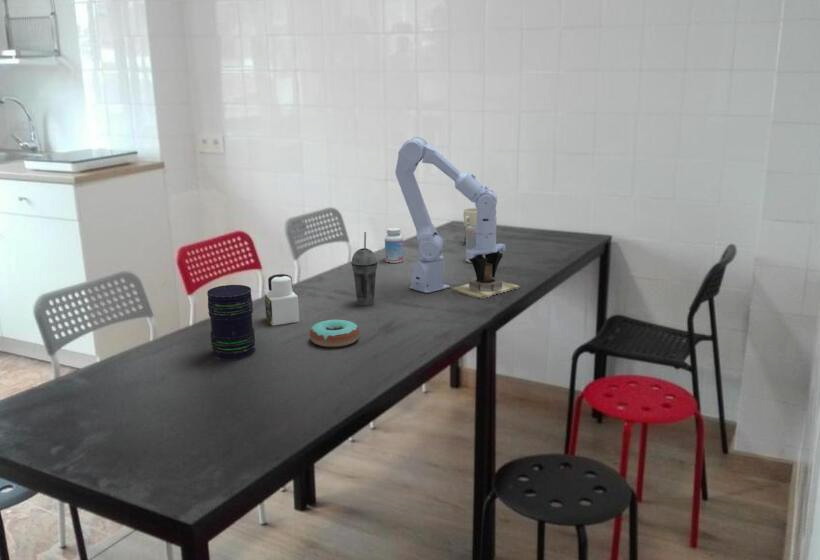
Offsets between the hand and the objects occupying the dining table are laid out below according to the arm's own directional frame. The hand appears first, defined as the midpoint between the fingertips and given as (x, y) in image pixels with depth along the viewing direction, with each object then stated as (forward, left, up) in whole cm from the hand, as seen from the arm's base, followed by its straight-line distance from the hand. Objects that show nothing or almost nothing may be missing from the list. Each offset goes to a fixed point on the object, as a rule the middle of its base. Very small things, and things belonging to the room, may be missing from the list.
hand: (485, 278), depth 222 cm
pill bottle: (+3, +45, -4) cm, 46 cm away
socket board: (0, 0, -3) cm, 3 cm away
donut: (-58, -6, -4) cm, 58 cm away
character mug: (+41, +45, -4) cm, 61 cm away
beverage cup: (-34, +13, -4) cm, 37 cm away
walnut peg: (0, 0, -2) cm, 2 cm away
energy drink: (+22, +26, -4) cm, 35 cm away
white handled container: (-59, +16, -4) cm, 61 cm away
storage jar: (-80, +3, -4) cm, 80 cm away
